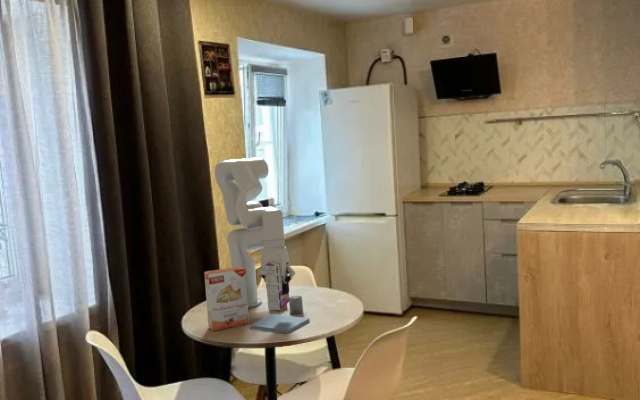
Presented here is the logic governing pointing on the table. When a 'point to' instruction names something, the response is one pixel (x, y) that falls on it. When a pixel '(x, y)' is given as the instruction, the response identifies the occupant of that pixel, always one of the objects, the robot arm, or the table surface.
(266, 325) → the slate board
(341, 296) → the table surface
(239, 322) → the cracker box
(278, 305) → the candy bar box
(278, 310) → the walnut block
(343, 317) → the table surface
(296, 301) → the charcoal cylinder
